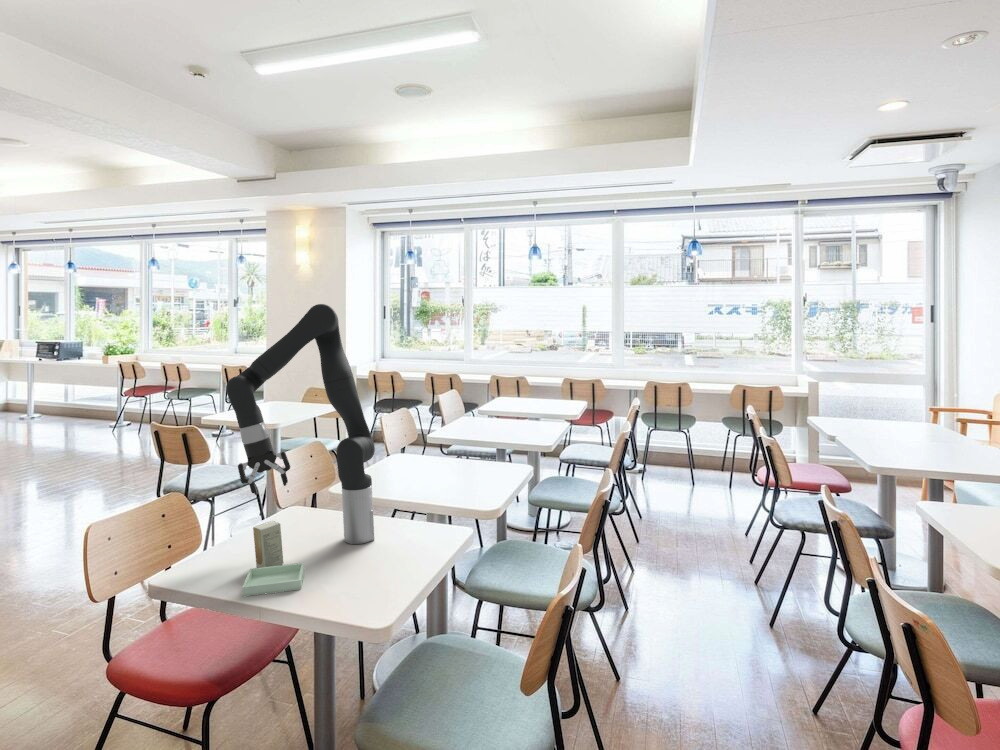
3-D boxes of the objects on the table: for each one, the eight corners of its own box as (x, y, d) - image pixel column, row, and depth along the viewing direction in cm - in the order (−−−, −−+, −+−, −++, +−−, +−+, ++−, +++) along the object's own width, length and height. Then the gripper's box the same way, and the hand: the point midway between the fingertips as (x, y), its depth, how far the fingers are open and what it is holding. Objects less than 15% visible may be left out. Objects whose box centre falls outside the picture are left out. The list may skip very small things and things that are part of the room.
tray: (304, 571, 158) (304, 562, 158) (301, 589, 148) (300, 580, 148) (250, 577, 155) (249, 568, 155) (242, 596, 144) (242, 587, 144)
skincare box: (276, 560, 166) (273, 519, 165) (284, 564, 163) (281, 522, 162) (254, 567, 161) (252, 526, 160) (262, 572, 158) (260, 529, 157)
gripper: (280, 431, 179) (295, 480, 180) (232, 444, 174) (247, 494, 176) (279, 434, 171) (294, 485, 173) (229, 448, 167) (245, 500, 169)
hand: (270, 489), depth 175 cm, fingers open, 8 cm apart
